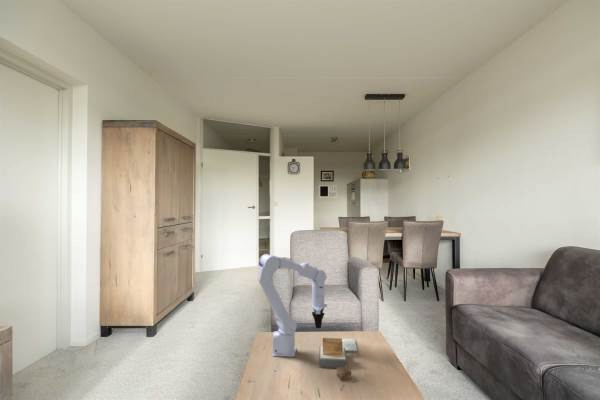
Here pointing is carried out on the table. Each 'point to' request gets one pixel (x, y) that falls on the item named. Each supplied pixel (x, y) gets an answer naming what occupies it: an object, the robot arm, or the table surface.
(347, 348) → the hard drive
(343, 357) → the stand
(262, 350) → the table surface
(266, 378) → the table surface
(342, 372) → the walnut block
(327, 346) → the block
